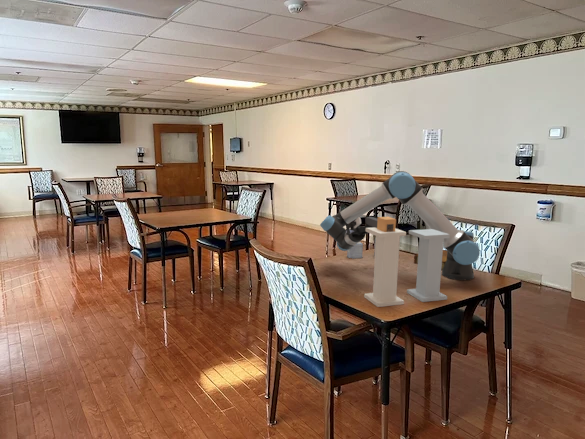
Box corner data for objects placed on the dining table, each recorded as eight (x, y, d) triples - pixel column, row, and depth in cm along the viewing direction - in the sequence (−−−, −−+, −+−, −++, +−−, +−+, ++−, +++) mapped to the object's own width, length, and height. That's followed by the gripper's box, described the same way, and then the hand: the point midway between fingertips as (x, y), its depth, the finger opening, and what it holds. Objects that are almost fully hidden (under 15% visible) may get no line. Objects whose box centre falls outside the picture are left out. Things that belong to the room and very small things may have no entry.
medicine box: (359, 256, 253) (360, 241, 252) (362, 258, 249) (363, 243, 248) (346, 256, 252) (347, 242, 250) (349, 258, 247) (350, 244, 246)
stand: (387, 293, 190) (390, 226, 185) (403, 304, 177) (408, 232, 172) (362, 295, 187) (365, 227, 181) (377, 307, 174) (381, 234, 169)
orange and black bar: (374, 223, 192) (374, 212, 191) (395, 231, 175) (395, 219, 174) (363, 223, 190) (364, 212, 190) (384, 231, 174) (384, 219, 173)
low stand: (428, 289, 196) (432, 229, 192) (446, 299, 184) (452, 235, 179) (405, 291, 193) (408, 230, 188) (422, 302, 180) (427, 236, 175)
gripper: (380, 241, 207) (401, 226, 188) (332, 244, 200) (349, 229, 181) (376, 226, 210) (398, 210, 191) (329, 228, 203) (346, 212, 183)
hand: (374, 219), depth 186 cm, fingers open, 13 cm apart
